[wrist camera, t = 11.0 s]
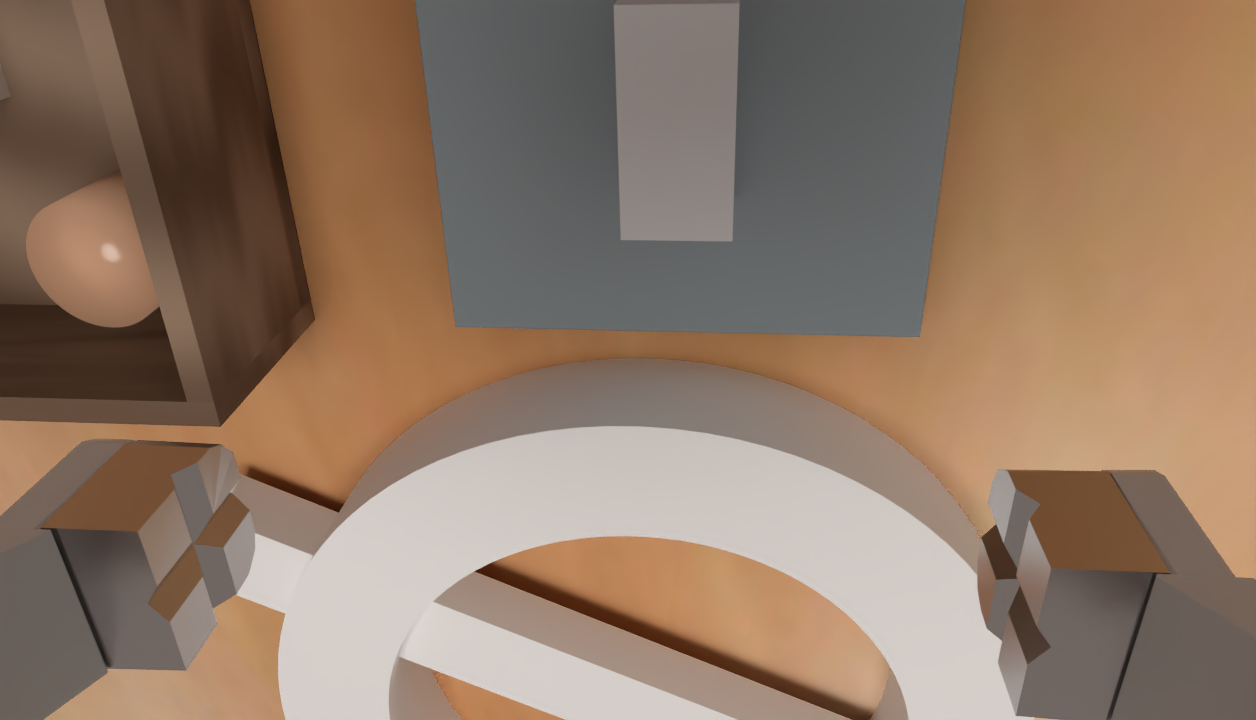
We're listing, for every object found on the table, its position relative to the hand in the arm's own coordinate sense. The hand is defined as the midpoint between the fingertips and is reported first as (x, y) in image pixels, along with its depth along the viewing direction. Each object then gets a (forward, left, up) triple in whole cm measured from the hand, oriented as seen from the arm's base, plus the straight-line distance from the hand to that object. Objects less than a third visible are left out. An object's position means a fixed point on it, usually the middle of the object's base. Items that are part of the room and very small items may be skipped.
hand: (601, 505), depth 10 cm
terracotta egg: (+4, -17, -20) cm, 26 cm away
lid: (0, 0, -21) cm, 21 cm away
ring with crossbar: (+23, -1, -21) cm, 32 cm away
